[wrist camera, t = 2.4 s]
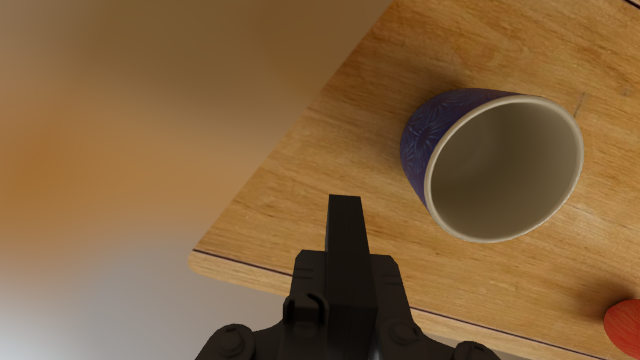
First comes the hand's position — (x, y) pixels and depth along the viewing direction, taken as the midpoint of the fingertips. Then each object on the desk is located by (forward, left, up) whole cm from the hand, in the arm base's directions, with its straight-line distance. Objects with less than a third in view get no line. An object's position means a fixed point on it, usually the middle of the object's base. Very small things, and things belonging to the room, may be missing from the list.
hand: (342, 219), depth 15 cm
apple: (+45, +25, -20) cm, 55 cm away
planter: (+8, +11, -20) cm, 24 cm away
